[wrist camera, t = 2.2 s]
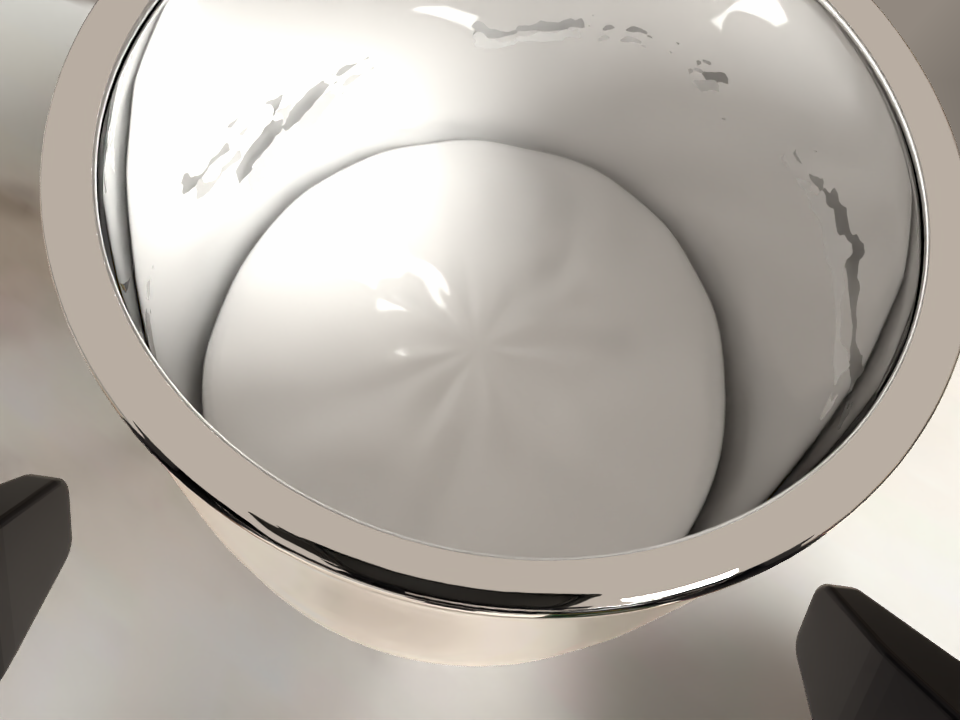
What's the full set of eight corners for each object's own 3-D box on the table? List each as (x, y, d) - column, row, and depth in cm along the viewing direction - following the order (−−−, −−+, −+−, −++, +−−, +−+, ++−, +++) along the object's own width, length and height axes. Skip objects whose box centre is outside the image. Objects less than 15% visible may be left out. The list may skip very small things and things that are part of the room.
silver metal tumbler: (242, 602, 18) (-263, 370, 4) (365, 350, 21) (298, -293, 7) (519, 718, 18) (943, 877, 4) (608, 446, 20) (1047, -29, 7)
